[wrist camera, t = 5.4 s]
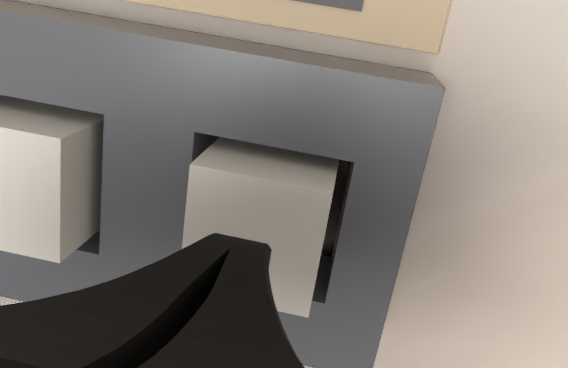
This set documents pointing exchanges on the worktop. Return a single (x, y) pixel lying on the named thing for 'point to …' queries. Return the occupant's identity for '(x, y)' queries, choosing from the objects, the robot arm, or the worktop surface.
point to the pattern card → (336, 17)
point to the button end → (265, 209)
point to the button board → (234, 125)
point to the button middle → (48, 178)
